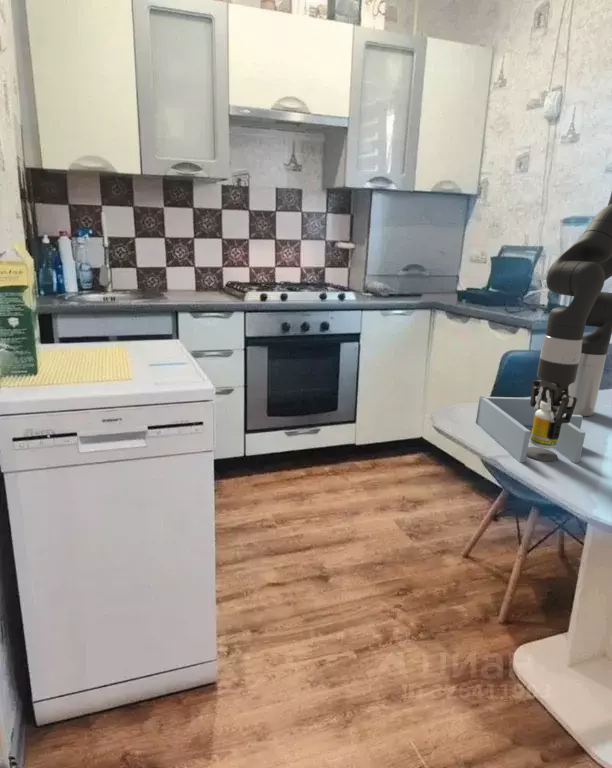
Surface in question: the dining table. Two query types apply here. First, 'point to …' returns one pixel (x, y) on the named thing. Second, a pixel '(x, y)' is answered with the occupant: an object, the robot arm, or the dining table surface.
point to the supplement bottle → (542, 427)
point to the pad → (541, 454)
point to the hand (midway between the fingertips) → (545, 433)
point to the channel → (507, 427)
